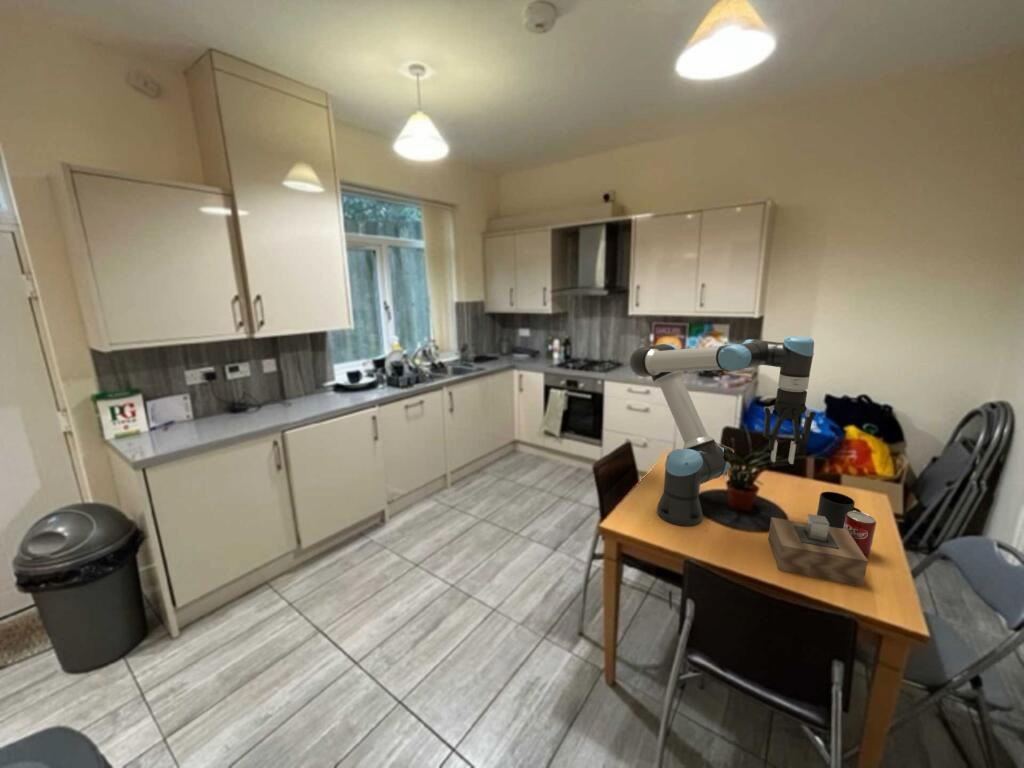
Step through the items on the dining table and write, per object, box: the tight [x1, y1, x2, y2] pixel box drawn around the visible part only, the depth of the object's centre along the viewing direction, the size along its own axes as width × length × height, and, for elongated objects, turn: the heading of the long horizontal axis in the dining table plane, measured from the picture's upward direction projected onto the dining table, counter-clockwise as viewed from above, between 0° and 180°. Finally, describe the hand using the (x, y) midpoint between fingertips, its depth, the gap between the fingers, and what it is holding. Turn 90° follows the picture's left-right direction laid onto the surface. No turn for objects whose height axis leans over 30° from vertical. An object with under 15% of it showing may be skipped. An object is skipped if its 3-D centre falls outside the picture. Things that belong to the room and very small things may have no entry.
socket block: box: [767, 516, 869, 587], centre depth 126 cm, size 20×16×8 cm
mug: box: [816, 491, 862, 529], centre depth 146 cm, size 9×12×9 cm
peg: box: [806, 513, 830, 542], centre depth 125 cm, size 4×4×8 cm
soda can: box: [843, 510, 877, 558], centre depth 130 cm, size 7×7×12 cm
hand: (781, 461), depth 133 cm, fingers open, 4 cm apart
